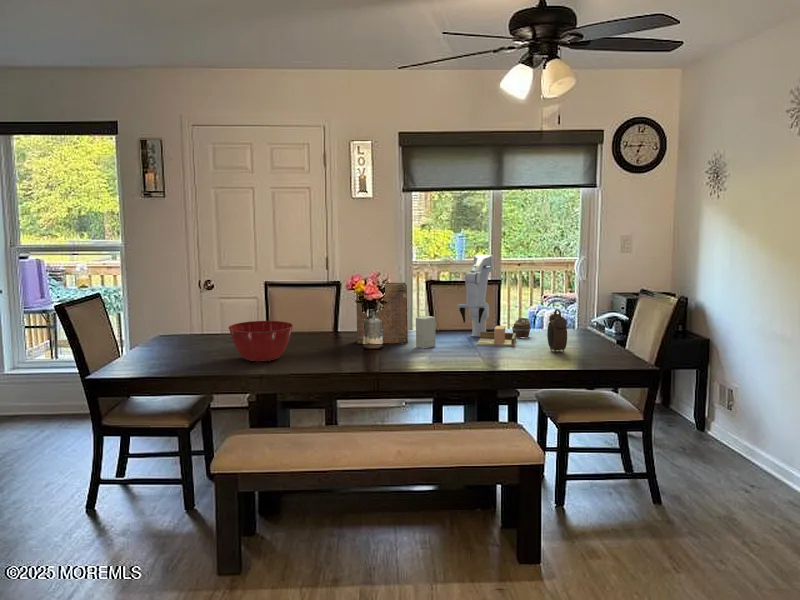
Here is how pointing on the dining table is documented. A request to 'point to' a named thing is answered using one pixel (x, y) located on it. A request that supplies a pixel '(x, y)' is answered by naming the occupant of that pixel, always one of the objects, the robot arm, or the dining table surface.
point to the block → (499, 334)
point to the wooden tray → (488, 339)
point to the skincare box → (425, 332)
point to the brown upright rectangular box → (389, 315)
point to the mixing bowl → (261, 339)
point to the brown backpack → (557, 332)
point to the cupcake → (521, 327)
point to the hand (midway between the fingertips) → (471, 322)
